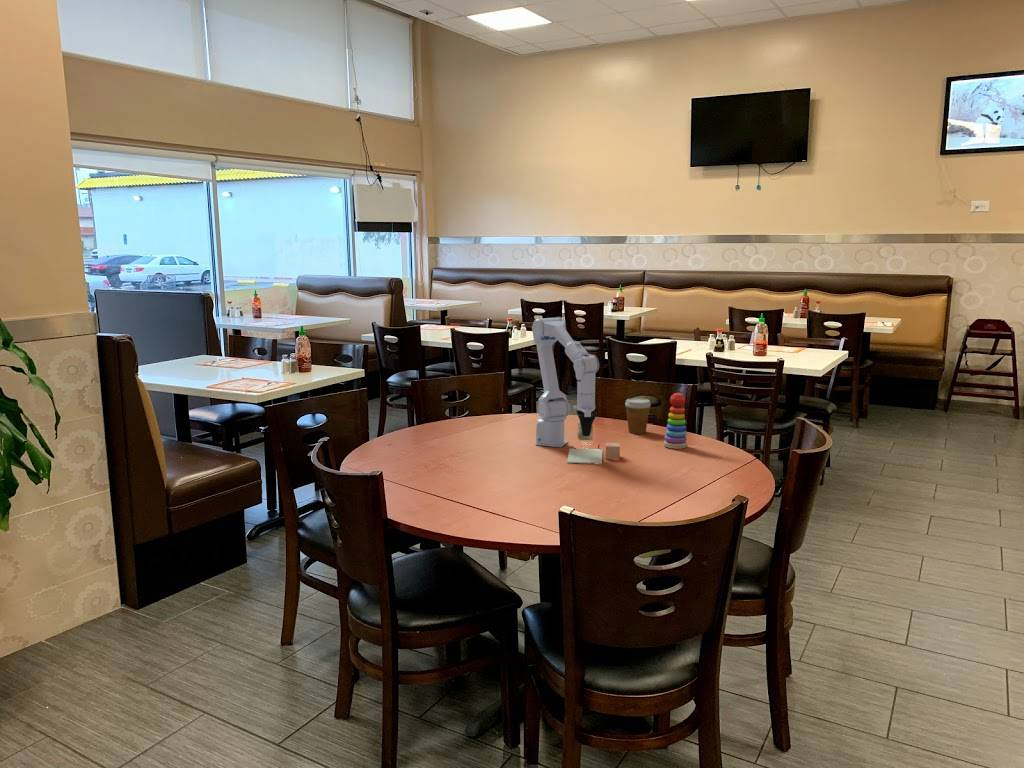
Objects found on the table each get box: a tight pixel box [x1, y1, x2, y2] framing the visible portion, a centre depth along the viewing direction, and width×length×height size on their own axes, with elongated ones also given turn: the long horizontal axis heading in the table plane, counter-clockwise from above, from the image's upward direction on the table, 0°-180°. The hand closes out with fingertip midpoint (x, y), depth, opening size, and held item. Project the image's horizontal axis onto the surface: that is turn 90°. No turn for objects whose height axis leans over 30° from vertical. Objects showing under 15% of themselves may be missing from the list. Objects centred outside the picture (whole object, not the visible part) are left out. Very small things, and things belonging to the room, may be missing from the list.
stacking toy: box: [663, 392, 688, 450], centre depth 260 cm, size 8×8×19 cm
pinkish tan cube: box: [605, 442, 621, 460], centre depth 248 cm, size 4×4×4 cm
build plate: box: [566, 448, 603, 465], centre depth 249 cm, size 11×16×1 cm
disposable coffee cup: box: [624, 397, 652, 435], centre depth 282 cm, size 10×10×12 cm
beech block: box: [577, 422, 594, 441], centre depth 248 cm, size 4×4×4 cm
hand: (585, 434), depth 248 cm, fingers closed on beech block, 4 cm apart
